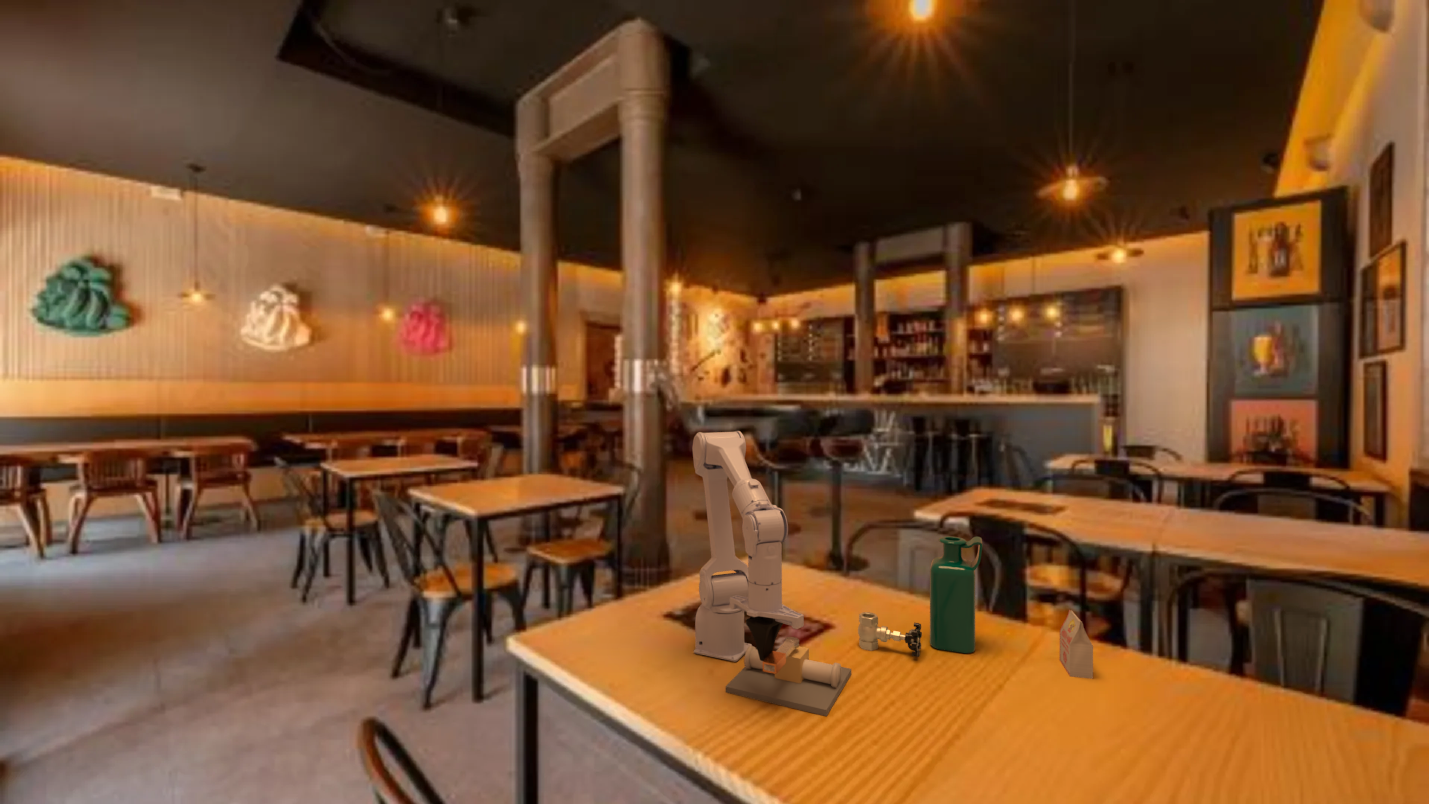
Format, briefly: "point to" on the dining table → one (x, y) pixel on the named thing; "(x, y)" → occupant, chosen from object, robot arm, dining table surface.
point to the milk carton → (1076, 648)
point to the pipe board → (791, 682)
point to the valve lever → (780, 655)
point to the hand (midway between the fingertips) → (765, 659)
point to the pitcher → (953, 596)
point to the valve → (885, 634)
